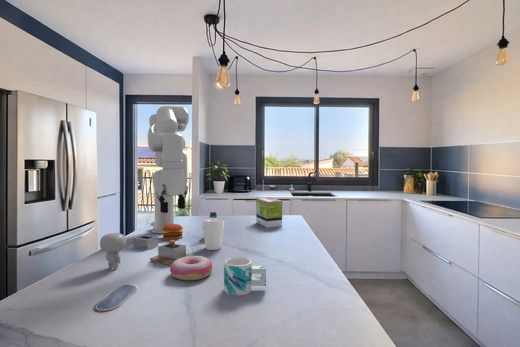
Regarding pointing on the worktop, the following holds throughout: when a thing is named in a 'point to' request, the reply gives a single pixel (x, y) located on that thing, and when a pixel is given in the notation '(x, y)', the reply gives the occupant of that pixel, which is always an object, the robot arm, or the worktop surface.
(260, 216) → the tea box
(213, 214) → the perfume bottle
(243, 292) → the mug
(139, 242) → the grey hollow block
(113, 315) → the worktop surface
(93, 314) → the worktop surface
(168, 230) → the hamburger
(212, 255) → the worktop surface
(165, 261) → the keeper
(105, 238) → the figurine
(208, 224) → the cup
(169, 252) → the link
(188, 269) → the donut
